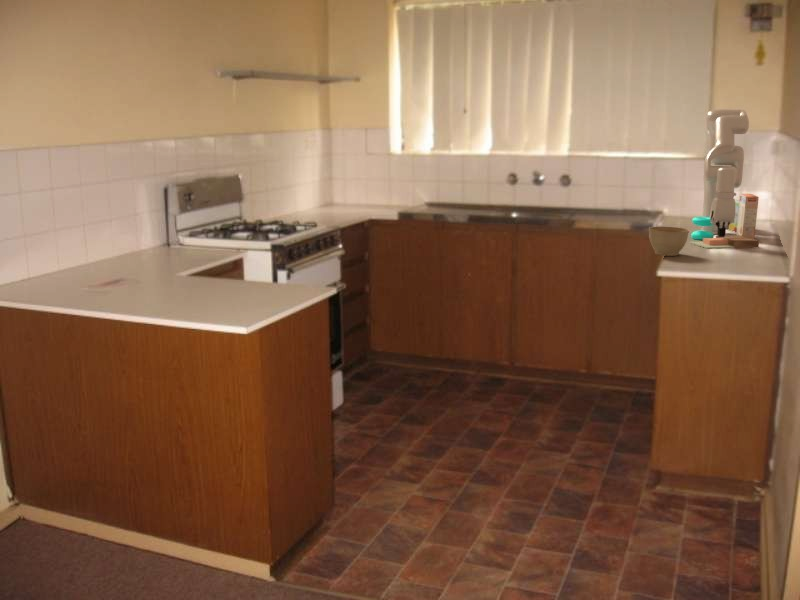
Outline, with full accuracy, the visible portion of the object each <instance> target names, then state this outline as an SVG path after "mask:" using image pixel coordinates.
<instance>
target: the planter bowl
mask: <svg viewBox="0 0 800 600" xmlns="http://www.w3.org/2000/svg"><path fill="white" fill-rule="evenodd" d="M689 233H690V230H689V229H688V228H683V227H675V226H650V227H648V239H649V242H650V244H651V247H652V248H653V250H654V254H655V255H658V256H664V257H665V256H666V257H674V256H675V257H676V256H678V255H680V252H681V251H682V249H684V246H685V245H686V243H687V241H688V238H689V237H688V236H689Z"/></svg>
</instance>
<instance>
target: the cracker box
mask: <svg viewBox="0 0 800 600" xmlns="http://www.w3.org/2000/svg"><path fill="white" fill-rule="evenodd" d="M759 198H760V197H759V196H757V195H755V194H752V193H740V194H739V212H738V222H737V232H735V234H736V235H739V236H743V237H747V238H750V239H754V240H755V234H756V228H757V227H756V226H757V225H756V224H757V216H758V208H759Z"/></svg>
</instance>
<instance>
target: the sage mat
mask: <svg viewBox="0 0 800 600" xmlns="http://www.w3.org/2000/svg"><path fill="white" fill-rule="evenodd" d="M691 243H692V244H691ZM689 244H691V245H694V244H695V245H694V246H697V245H698V247H700V246H701V248H703V247H704V249H706V248H707V250H708V249H711V250H712V248H716V249H736V248H735V247H734V246H731V245H707V244H704V243H703V240H700V241H689Z"/></svg>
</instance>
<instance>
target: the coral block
mask: <svg viewBox="0 0 800 600" xmlns="http://www.w3.org/2000/svg"><path fill="white" fill-rule="evenodd" d="M702 241H703V243H704V244H707V245H728V241H729V240H727V239H724V238H716V237H713V238H703V240H702Z"/></svg>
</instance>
